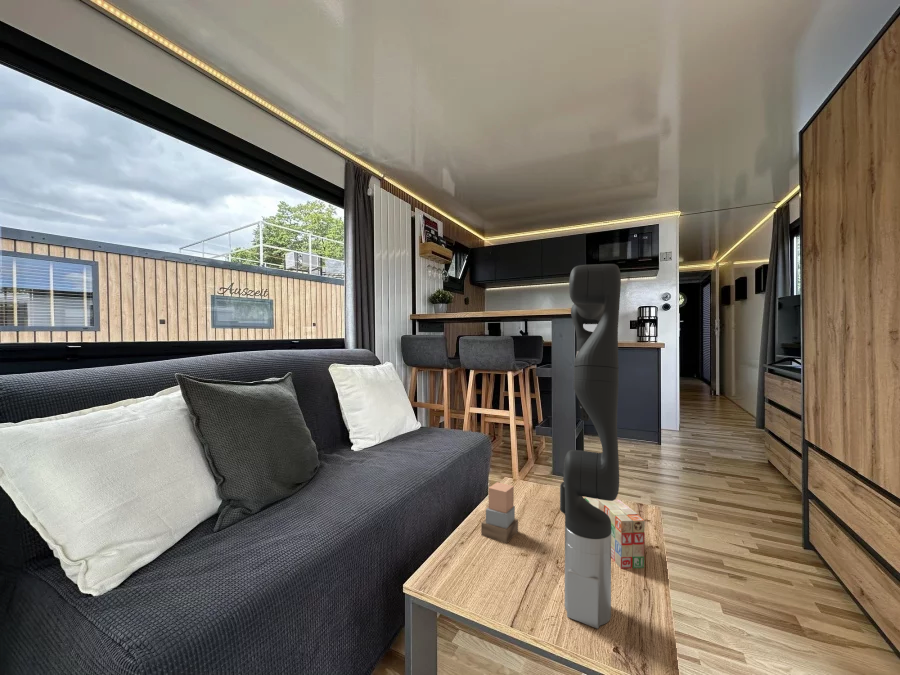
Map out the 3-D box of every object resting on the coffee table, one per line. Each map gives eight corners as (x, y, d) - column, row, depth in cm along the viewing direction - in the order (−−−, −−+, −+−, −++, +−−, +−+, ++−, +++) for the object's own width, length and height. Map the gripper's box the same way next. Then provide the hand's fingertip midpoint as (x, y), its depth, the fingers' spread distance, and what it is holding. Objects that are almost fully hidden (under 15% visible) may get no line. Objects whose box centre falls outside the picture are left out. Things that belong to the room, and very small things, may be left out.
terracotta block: (505, 513, 107) (505, 492, 107) (488, 508, 110) (488, 487, 110) (513, 506, 111) (513, 486, 112) (496, 501, 114) (496, 482, 115)
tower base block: (506, 544, 105) (506, 530, 105) (481, 536, 110) (481, 522, 110) (517, 532, 112) (518, 519, 112) (493, 525, 116) (494, 512, 116)
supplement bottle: (562, 505, 130) (562, 470, 130) (582, 509, 127) (583, 474, 127) (558, 513, 124) (558, 477, 124) (579, 518, 121) (580, 480, 121)
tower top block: (506, 528, 106) (506, 514, 106) (485, 523, 109) (485, 509, 109) (514, 519, 112) (514, 506, 112) (494, 514, 115) (494, 501, 115)
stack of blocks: (584, 527, 115) (584, 487, 115) (603, 526, 115) (604, 486, 116) (621, 569, 94) (621, 520, 94) (645, 568, 94) (645, 519, 94)
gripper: (596, 367, 108) (596, 424, 108) (605, 365, 120) (605, 415, 120) (570, 366, 112) (569, 420, 112) (581, 364, 124) (581, 413, 124)
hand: (588, 418), depth 116 cm, fingers open, 8 cm apart
